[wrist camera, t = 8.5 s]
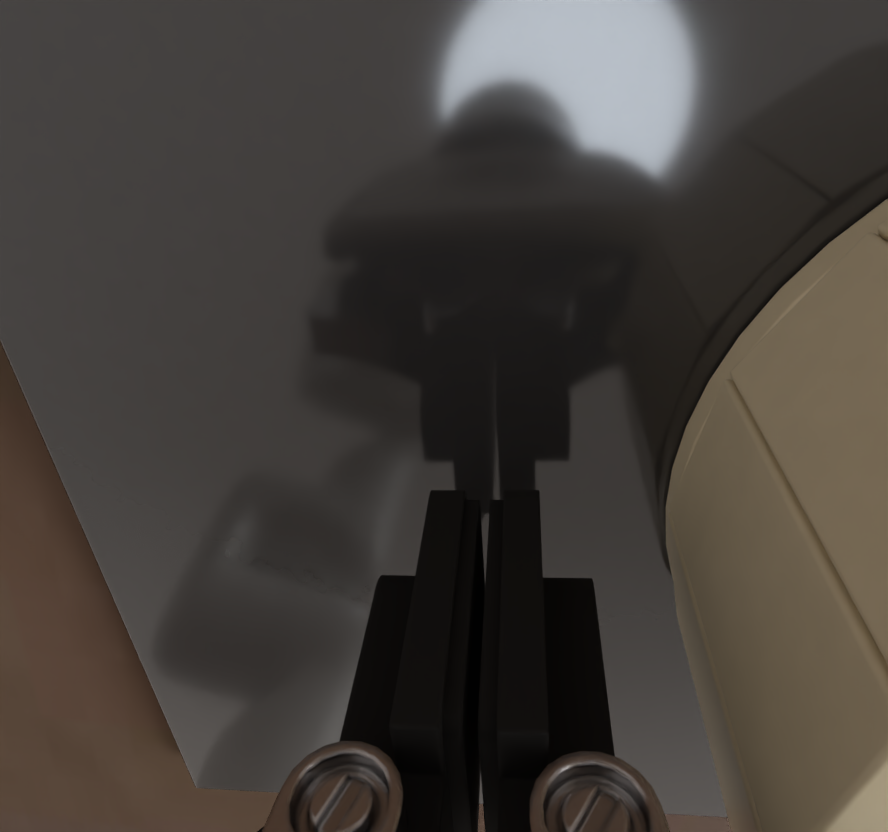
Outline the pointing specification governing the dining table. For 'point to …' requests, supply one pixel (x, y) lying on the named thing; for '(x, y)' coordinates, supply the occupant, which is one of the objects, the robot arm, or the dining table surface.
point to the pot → (794, 549)
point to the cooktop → (402, 309)
